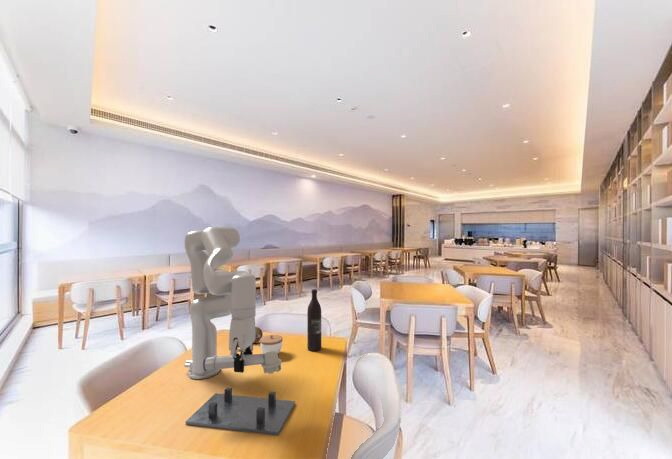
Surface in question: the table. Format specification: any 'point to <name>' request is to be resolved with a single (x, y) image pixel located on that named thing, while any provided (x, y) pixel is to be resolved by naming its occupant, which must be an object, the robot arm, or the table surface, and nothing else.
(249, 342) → the robot arm
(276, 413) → the peg stand
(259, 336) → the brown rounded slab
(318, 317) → the wine bottle
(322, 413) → the table surface
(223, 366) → the white handheld device
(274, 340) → the lidded jar
